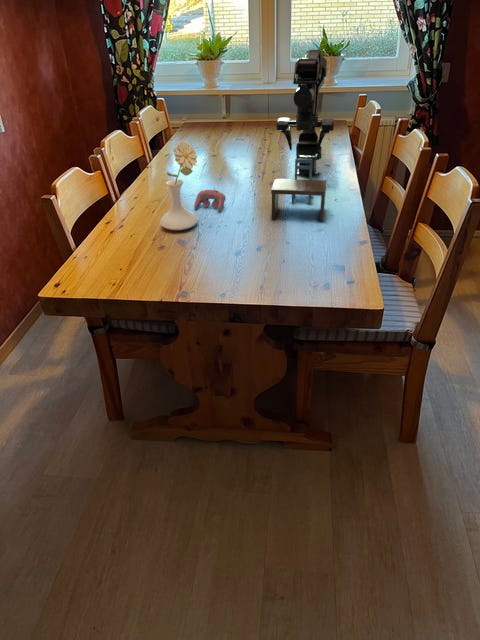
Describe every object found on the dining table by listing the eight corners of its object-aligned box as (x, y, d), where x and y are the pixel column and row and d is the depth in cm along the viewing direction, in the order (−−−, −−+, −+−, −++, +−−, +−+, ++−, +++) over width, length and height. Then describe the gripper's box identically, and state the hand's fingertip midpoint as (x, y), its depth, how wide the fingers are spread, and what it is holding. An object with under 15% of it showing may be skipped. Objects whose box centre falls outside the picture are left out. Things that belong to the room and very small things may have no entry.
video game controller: (225, 213, 164) (227, 191, 162) (220, 212, 159) (223, 189, 158) (197, 210, 166) (200, 189, 165) (192, 209, 162) (194, 187, 161)
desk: (275, 208, 162) (275, 178, 156) (324, 210, 159) (326, 180, 154) (271, 220, 154) (271, 189, 148) (323, 222, 151) (325, 191, 146)
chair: (293, 196, 170) (294, 158, 162) (311, 197, 169) (313, 158, 161) (291, 203, 165) (292, 164, 157) (310, 204, 163) (312, 165, 156)
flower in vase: (168, 237, 146) (158, 151, 132) (155, 223, 155) (144, 141, 141) (208, 227, 151) (202, 143, 137) (194, 214, 159) (187, 134, 145)
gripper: (274, 106, 156) (274, 156, 165) (334, 107, 152) (331, 158, 161) (278, 99, 165) (278, 147, 174) (335, 99, 161) (332, 148, 170)
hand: (304, 150), depth 169 cm, fingers open, 9 cm apart
